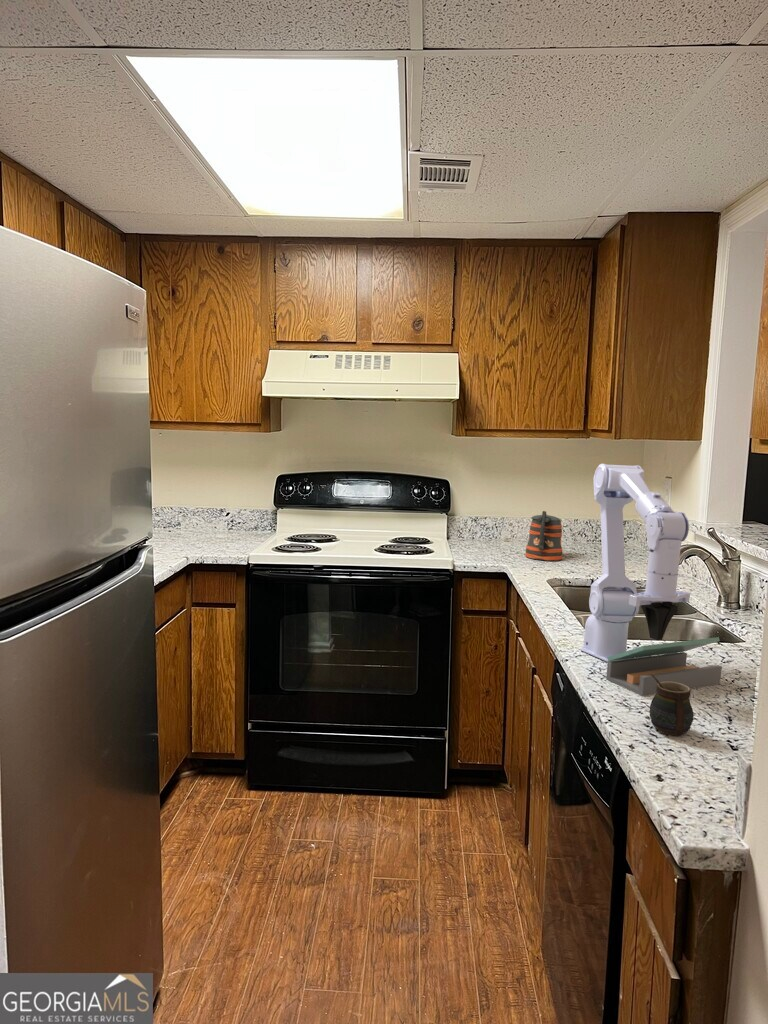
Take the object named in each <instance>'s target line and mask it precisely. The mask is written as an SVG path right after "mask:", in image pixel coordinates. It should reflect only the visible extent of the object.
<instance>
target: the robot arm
mask: <svg viewBox="0 0 768 1024" xmlns="http://www.w3.org/2000/svg"><path fill="white" fill-rule="evenodd" d="M645 478H646V476H645V470H644V469H643V467H641V465H625V464H623V465H619V464H606V463H600V464H599V465H598V466H597V467H596V469H595V471H594V475H593V480H592V481H593V495H594V496H593V497H594V501H595V502H596V503H598V504H599V506H600V507H599V508H600V511H599V512H600V534H601V535H600V536H601V561H602V566H601V569H602V575H601V576H600V577H598V578H597V579H596V580H594V581H593V582H592V583H591V585H590V595H589V598H588V599H589V600H588V605H589V611H590V612H591V615H589V616H588V617H587V619H586V621H585V624H584V632H583V634H584V635H583V643H582V644H583V645H582V646H583V647H581V648H580V649H579V650H580V651H582V652H584V653H585V654H589V655H591V656H592V657H595V658H597V659H600V660H602V661H604V662H607V663H608V662H609V661H608V658H607V657H610V656H613V655H617V654H620V653H623V652H626V651H627V644H628V635H629V623H630V622H632V621H633V618H635V617H636V616H637V614H638V613H639V610H640V608H641V610H642V611H643V614H644V616H645V618H646V622H647V629H648V633H649V634H648V635H649V638H650V639H652V640H655V641H662V640H663V638H664V636H665V633H666V631H667V628H668V626H669V623H670V622H671V620H672V618H673V617H674V615H676V613H677V612H678V610H679V607H678V606H677V604H676V605H675V603H686V604H687V603H690V598H691V597H690V596H691V593H690V592H687V591H684V590H677V587H678V586H677V585H678V578H679V568H680V567H679V566H680V557H681V547H682V542H684V541H685V540H686V539H687V537H688V536H689V530H690V523H689V522H690V521H689V518H688V517H687V515H686V513H685V512H683V511H674V510H673V508H672V507H671V506H670V505H669V504H668V503H667V501H666V500H665V499H664V498H663V497H662V495H661V493H660V492H657V491H651V490H650V488H649V487H648V485H647V483H646V482H645V480H646V479H645ZM633 501H634V502H635V507H634V508H635V510H636V513H637V514H638V516H639V517H641V519H642V521H643V522H644V524H645V533H646V536H647V537H646V539H647V540H646V541H647V542H646V546H647V548H648V549H649V550H648V561H647V562H648V563H647V571H646V573H647V574H646V582H645V589H644V590H645V591H641V592H637V591H638V590H637V586H636V585H637V584H636V583H634V582H633V580H631V579H630V578H629V577H627V576H626V562H625V561H626V560H625V538H624V536H625V535H624V514H623V513H624V512H623V511H624V507H625V506H626V505H628V504H631V503H632V502H633ZM673 603H674V604H673ZM631 659H633V658H631ZM623 660H625V659H623Z"/></svg>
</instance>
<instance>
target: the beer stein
mask: <svg viewBox="0 0 768 1024" xmlns="http://www.w3.org/2000/svg"><path fill="white" fill-rule="evenodd" d="M530 519H531V522H530V527H529V532H528V533H529V534H528V541H527V544H526V547H525V548H526V549H525V557H526V558H528V559H532V560H537V561H547V562H551V561H552V562H556V561H561V560H563V547H562V537H563V527H562V526H563V525H562V519H560V518H558V517H556V516H553V515H550V514H549V515H548V514H547V511H546V510H543V511H542V513H541V514H537V515H533V516H531V517H530Z"/></svg>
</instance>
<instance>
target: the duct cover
mask: <svg viewBox="0 0 768 1024" xmlns="http://www.w3.org/2000/svg"><path fill="white" fill-rule="evenodd" d="M717 642H720V637H718V636H717V637H708V638H699V639H693V640H692V639H691V640H682V641H674V642H667V643H666V642H665V643H657V644H649V645H641V646H638V647H635V648H632V649H630V650H629V649H628V650H626V652H623V653H620V654H617V655H613V656H610V657H607V658H608V661H615V660H623V659H631V658H639V657H646V656H656V655H664V654H670V653H680V652H687V651H691V650H694V649H697V648H701V647H704V646H708V645H711V644H713V643H714V644H715V643H717Z"/></svg>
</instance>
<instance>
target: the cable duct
mask: <svg viewBox="0 0 768 1024" xmlns="http://www.w3.org/2000/svg"><path fill="white" fill-rule="evenodd" d="M687 659H688V653H687V652H686V651H684V652H678V653H670V654H662V655H654V656H646V657H639V658H633V659H625V660H615V661H609V662H607V667H606V676H605V677H606V678H605V680H607V681H608V682H610V683H613V684H615V685H617V686H619V687H622V688H624V689H626V690H628V691H631V692H632V693H633V694H637V695H638V696H641V697H646V696H647V697H648V696H652V695H654V696H655V695H656V694H657V692H656V689H657V684H658V683H657V682H656V681H655V679H654V678H653V677H652V675H654V676H655V677H656V679H658V681H659V682H665V681H670V682H677V683H681V684H684V685H686V686H688V687H689V688H690V689H696V688H697V689H699V688H704V687H709V686H715V685H720V684H721V678H722V668H723V666H722V665H718V664H717V665H716V664H715V665H709V666H708V665H707V666H702V667H700V666H698V665H696V664H695V665H694V664H689V665H687ZM651 674H652V675H651Z"/></svg>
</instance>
